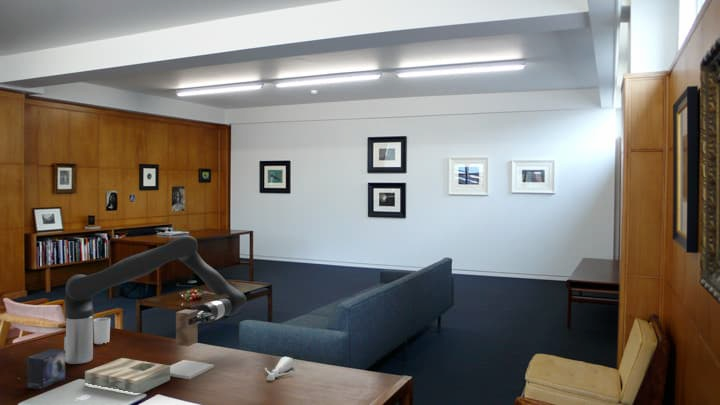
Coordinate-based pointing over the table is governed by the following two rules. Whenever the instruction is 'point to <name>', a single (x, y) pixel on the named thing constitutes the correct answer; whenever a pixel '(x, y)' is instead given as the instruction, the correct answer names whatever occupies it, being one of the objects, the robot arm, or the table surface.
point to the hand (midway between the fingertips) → (182, 321)
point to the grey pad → (188, 369)
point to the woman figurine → (281, 368)
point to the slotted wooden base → (129, 375)
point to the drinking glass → (101, 330)
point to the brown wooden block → (186, 328)
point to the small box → (45, 368)
